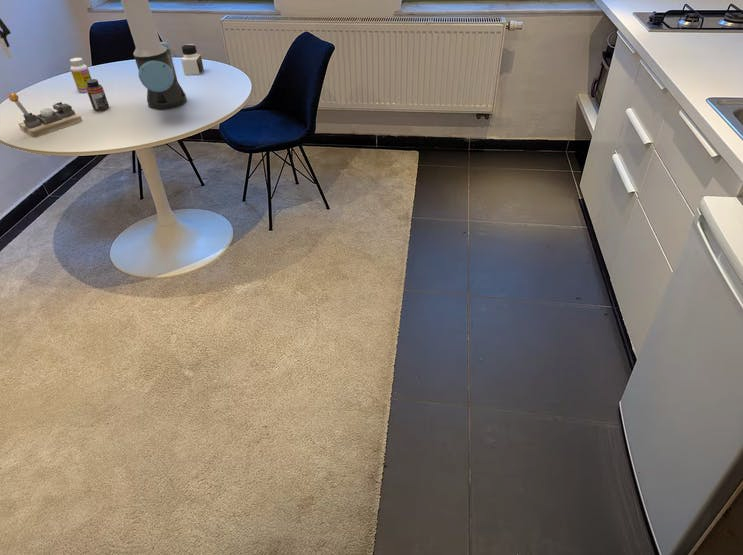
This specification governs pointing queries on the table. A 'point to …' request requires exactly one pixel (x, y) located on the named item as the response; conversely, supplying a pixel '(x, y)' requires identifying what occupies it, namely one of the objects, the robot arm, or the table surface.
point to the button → (46, 113)
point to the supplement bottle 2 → (97, 95)
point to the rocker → (58, 107)
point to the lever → (18, 103)
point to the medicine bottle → (191, 60)
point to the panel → (49, 121)
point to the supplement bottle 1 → (80, 74)
